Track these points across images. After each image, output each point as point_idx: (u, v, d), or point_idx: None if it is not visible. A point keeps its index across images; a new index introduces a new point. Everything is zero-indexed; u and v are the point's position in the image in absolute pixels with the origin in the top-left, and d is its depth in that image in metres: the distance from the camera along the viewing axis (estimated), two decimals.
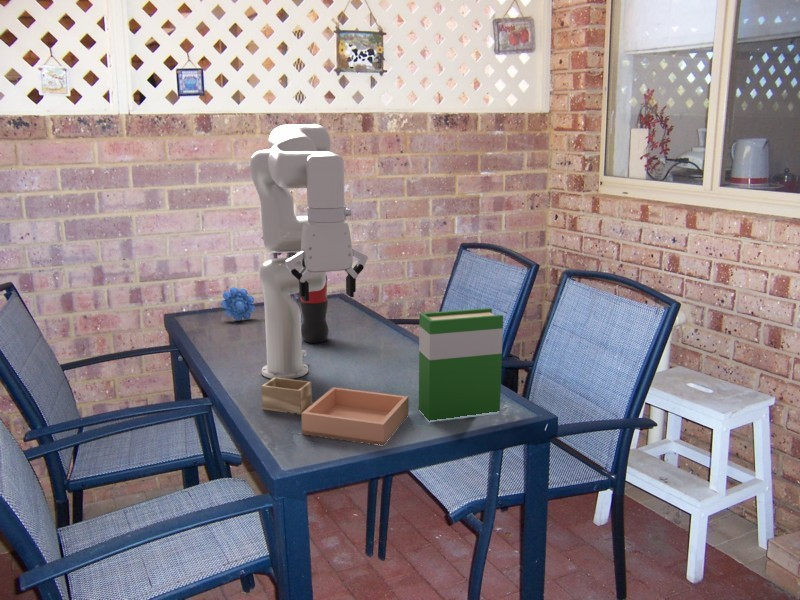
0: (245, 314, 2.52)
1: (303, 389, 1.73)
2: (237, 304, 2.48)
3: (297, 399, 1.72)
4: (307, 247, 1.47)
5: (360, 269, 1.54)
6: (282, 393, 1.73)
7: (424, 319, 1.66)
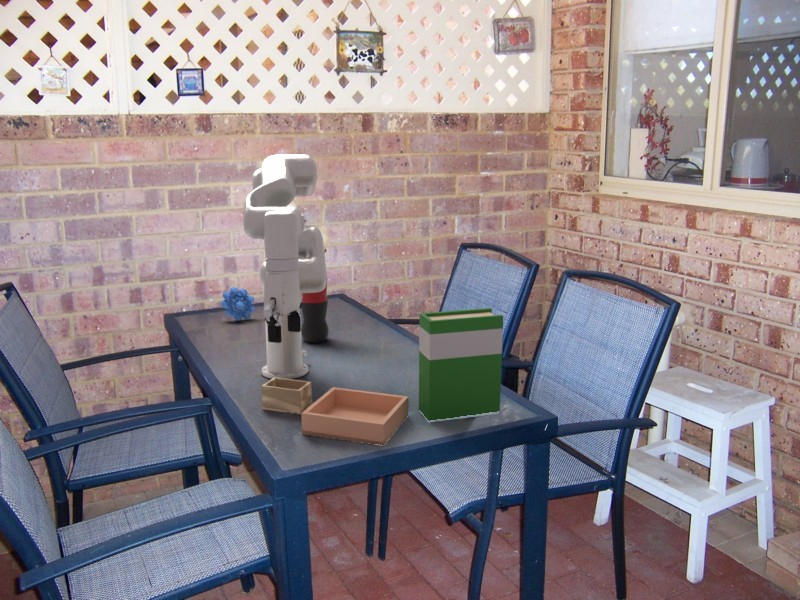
0: (245, 314, 2.52)
1: (303, 389, 1.73)
2: (237, 304, 2.48)
3: (297, 399, 1.72)
4: (281, 294, 1.65)
5: (300, 306, 1.77)
6: (282, 393, 1.73)
7: (424, 319, 1.66)
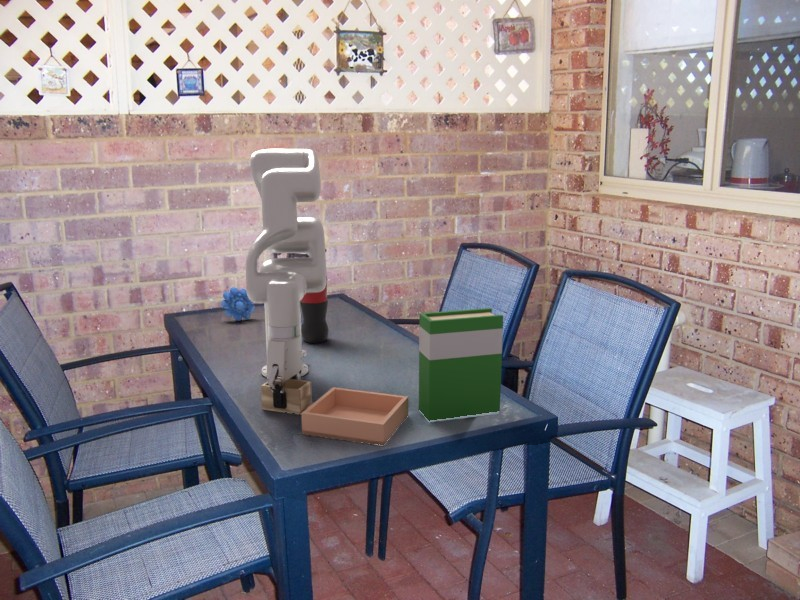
0: (245, 314, 2.52)
1: (303, 389, 1.73)
2: (237, 304, 2.48)
3: (297, 399, 1.72)
4: (283, 361, 1.69)
5: (300, 373, 1.80)
6: None
7: (424, 319, 1.66)
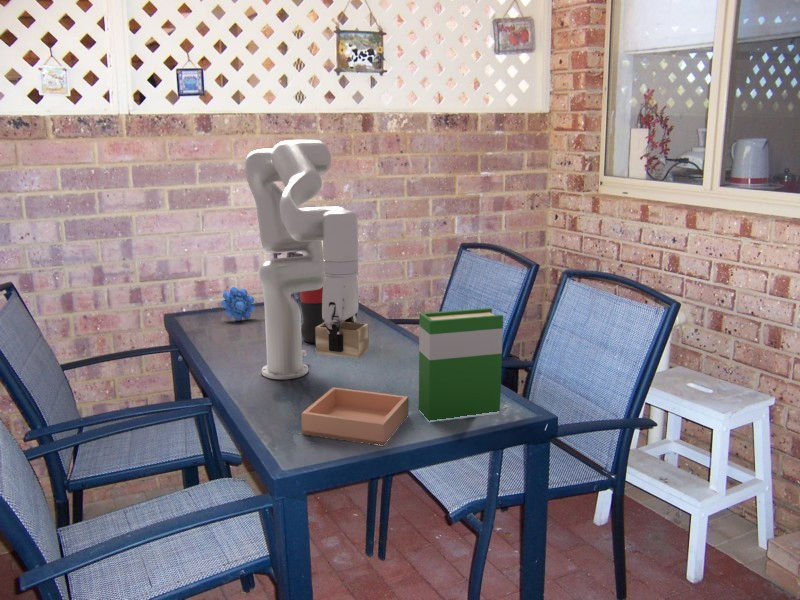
0: (245, 314, 2.52)
1: (361, 330, 1.60)
2: (237, 304, 2.48)
3: (355, 340, 1.59)
4: (341, 299, 1.56)
5: (355, 316, 1.67)
6: None
7: (424, 319, 1.66)
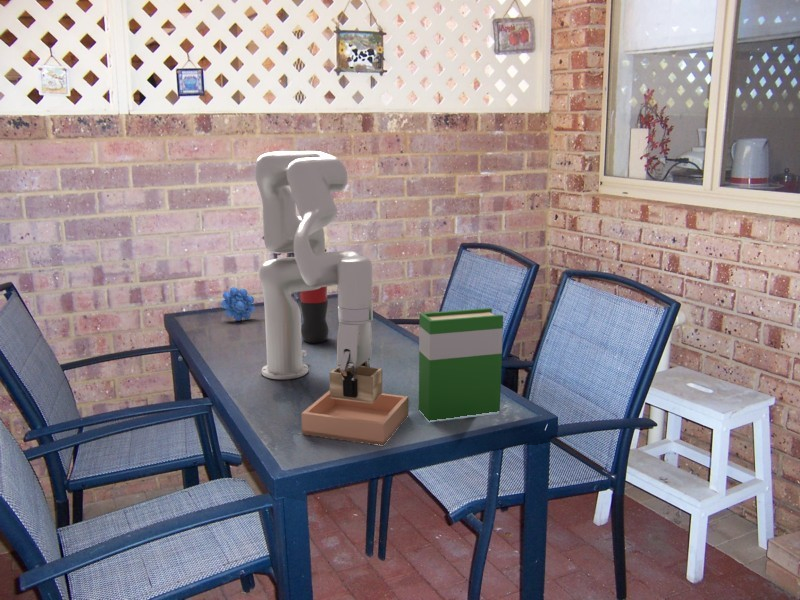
0: (245, 314, 2.52)
1: (375, 376, 1.61)
2: (237, 304, 2.48)
3: (369, 386, 1.59)
4: (356, 346, 1.57)
5: (369, 359, 1.68)
6: None
7: (424, 319, 1.66)
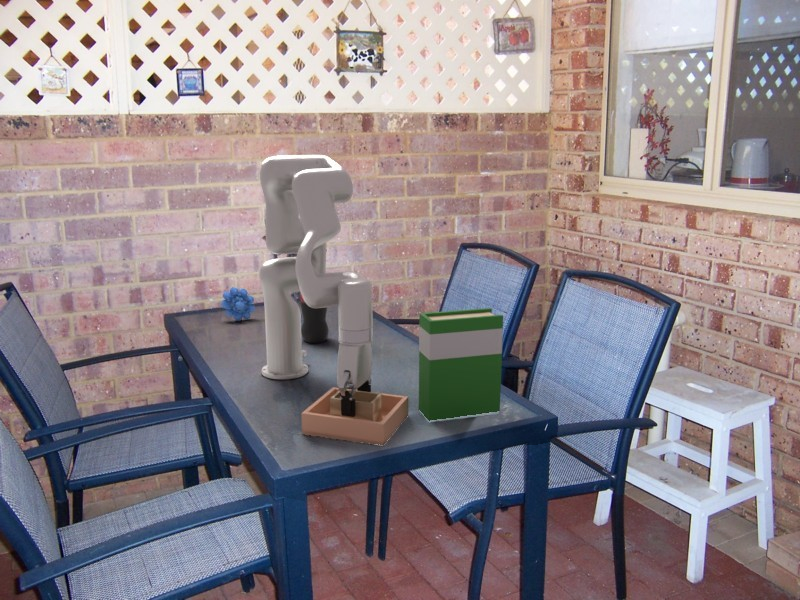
0: (245, 314, 2.52)
1: (375, 402, 1.62)
2: (237, 304, 2.48)
3: (369, 412, 1.61)
4: (356, 367, 1.58)
5: (370, 375, 1.70)
6: None
7: (424, 319, 1.66)
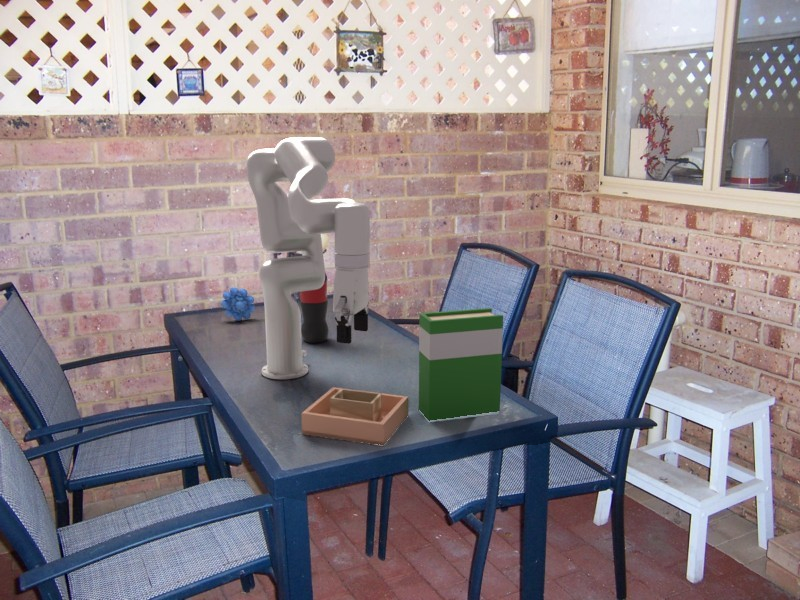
0: (245, 314, 2.52)
1: (375, 402, 1.62)
2: (237, 304, 2.48)
3: (369, 412, 1.61)
4: (352, 292, 1.55)
5: (367, 304, 1.67)
6: (353, 406, 1.62)
7: (424, 319, 1.66)
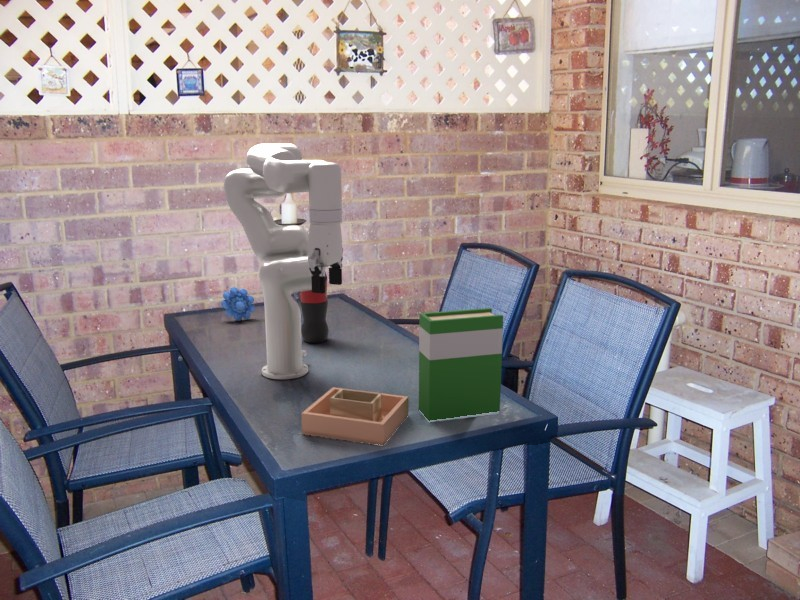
0: (245, 314, 2.52)
1: (375, 402, 1.62)
2: (237, 304, 2.48)
3: (369, 412, 1.61)
4: (325, 245, 1.67)
5: (341, 260, 1.79)
6: (353, 406, 1.62)
7: (424, 319, 1.66)
